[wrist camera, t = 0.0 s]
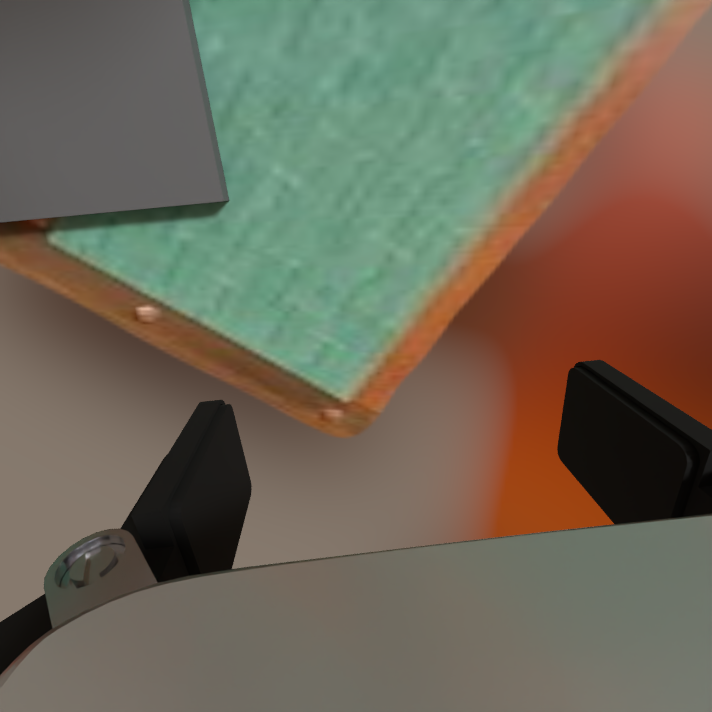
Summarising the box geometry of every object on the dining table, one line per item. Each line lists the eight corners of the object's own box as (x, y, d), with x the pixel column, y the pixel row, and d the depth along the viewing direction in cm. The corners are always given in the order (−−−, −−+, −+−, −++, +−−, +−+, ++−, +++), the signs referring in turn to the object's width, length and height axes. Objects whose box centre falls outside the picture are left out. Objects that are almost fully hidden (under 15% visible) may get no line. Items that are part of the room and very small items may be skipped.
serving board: (-117, -29, 29) (-147, -44, 27) (177, -53, 30) (167, -69, 28) (-7, 223, 36) (-25, 224, 35) (229, 200, 37) (223, 201, 35)
